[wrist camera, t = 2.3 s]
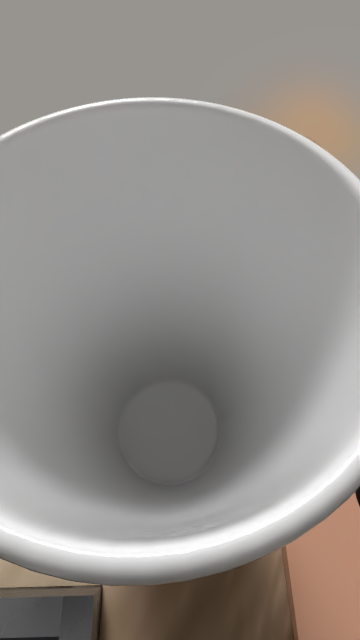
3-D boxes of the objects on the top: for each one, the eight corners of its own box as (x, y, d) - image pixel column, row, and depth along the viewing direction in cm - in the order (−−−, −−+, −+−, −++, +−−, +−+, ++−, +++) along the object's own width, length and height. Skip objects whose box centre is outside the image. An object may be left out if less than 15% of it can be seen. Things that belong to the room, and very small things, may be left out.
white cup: (214, 359, 19) (296, 65, 6) (254, 487, 16) (592, 475, 3) (96, 387, 19) (-114, 122, 5) (115, 527, 16) (-251, 745, 2)
